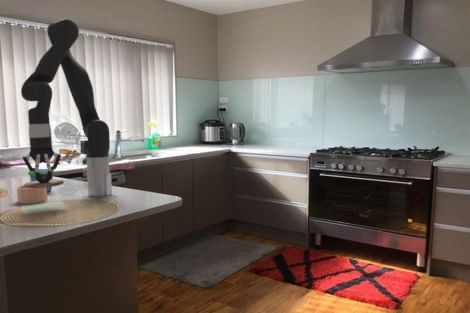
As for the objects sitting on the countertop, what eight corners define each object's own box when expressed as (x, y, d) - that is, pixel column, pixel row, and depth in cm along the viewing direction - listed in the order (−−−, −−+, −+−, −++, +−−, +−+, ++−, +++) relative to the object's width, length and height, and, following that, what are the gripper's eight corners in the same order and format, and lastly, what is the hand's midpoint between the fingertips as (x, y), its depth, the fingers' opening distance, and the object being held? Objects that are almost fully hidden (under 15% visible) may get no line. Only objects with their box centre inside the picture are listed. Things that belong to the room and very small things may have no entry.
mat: (67, 210, 156) (67, 208, 156) (23, 215, 149) (23, 213, 149) (62, 202, 169) (62, 201, 169) (21, 207, 162) (21, 205, 162)
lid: (69, 181, 165) (68, 170, 164) (53, 187, 151) (52, 176, 151) (35, 181, 165) (34, 171, 164) (16, 188, 151) (15, 176, 151)
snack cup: (24, 191, 194) (22, 169, 193) (46, 188, 202) (45, 167, 201) (37, 195, 184) (36, 173, 183) (61, 192, 191) (59, 170, 190)
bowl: (52, 199, 177) (51, 183, 176) (39, 204, 166) (38, 188, 165) (27, 199, 177) (26, 183, 177) (12, 204, 166) (11, 188, 166)
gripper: (59, 134, 162) (62, 178, 164) (19, 136, 156) (23, 181, 158) (61, 135, 156) (64, 180, 158) (19, 137, 149) (23, 184, 151)
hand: (43, 181), depth 158 cm, fingers closed on lid, 3 cm apart
